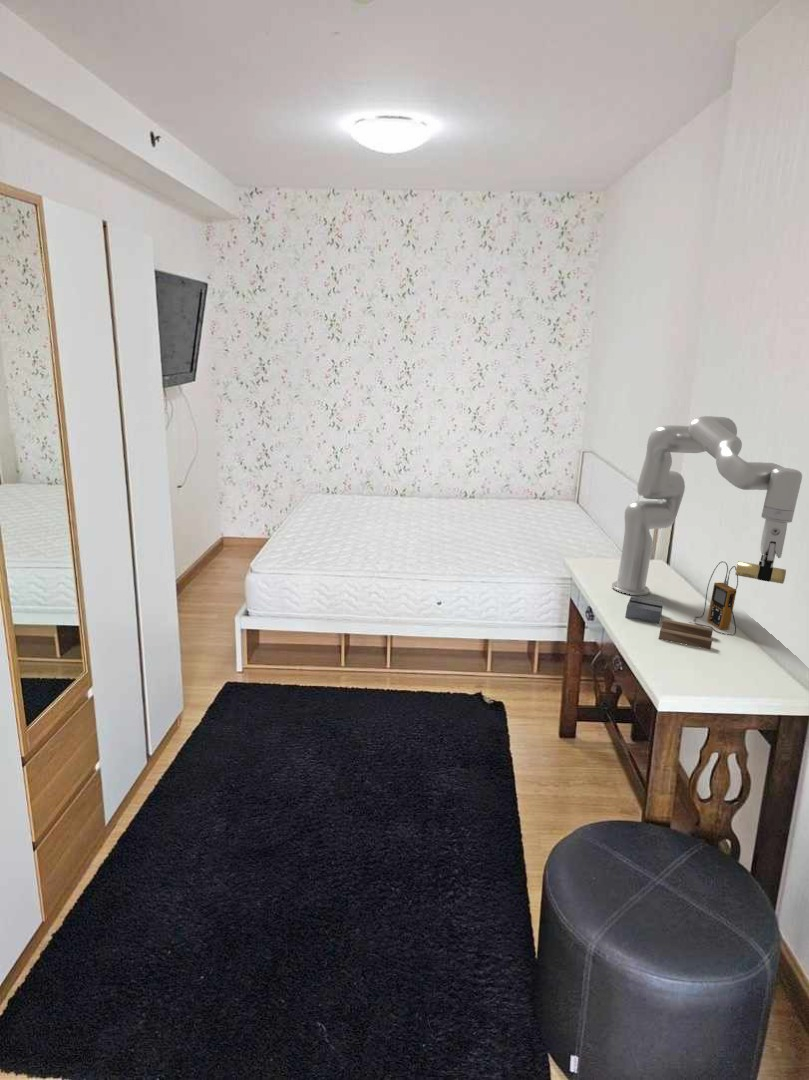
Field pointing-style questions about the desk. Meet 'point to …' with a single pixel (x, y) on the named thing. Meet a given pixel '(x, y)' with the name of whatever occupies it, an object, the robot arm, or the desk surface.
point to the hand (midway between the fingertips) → (763, 577)
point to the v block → (644, 610)
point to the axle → (753, 570)
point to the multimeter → (721, 604)
